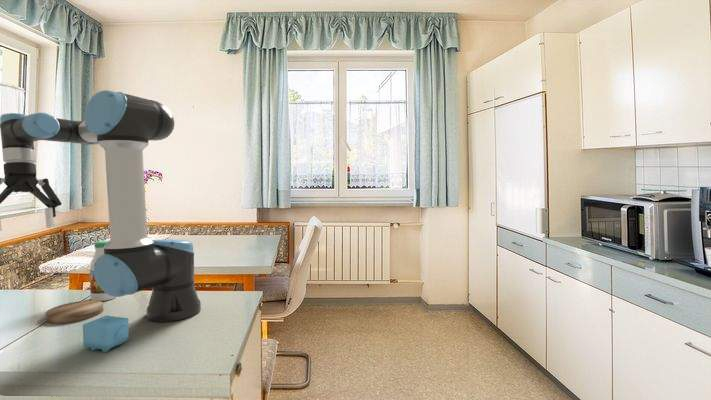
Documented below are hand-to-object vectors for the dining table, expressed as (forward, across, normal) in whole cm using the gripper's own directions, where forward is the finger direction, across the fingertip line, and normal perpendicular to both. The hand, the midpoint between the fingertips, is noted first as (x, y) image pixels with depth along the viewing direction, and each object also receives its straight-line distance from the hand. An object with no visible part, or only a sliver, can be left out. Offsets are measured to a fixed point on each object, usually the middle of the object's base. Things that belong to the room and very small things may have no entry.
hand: (25, 229), depth 113 cm
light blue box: (+33, +7, +46) cm, 57 cm away
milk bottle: (+27, -17, +8) cm, 33 cm away
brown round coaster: (+28, -3, +16) cm, 32 cm away
